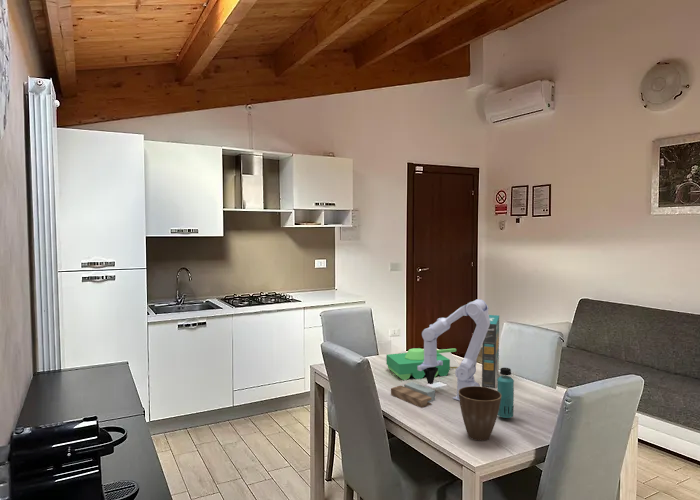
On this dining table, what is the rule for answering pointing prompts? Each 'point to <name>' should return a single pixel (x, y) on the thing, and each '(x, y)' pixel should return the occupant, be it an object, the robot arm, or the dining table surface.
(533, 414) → the dining table surface
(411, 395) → the grooved board
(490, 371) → the cake mix box
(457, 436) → the dining table surface
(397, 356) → the toy tank
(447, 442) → the dining table surface
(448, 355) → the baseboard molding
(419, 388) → the tongue plank
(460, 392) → the plant pot
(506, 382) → the beverage bottle
